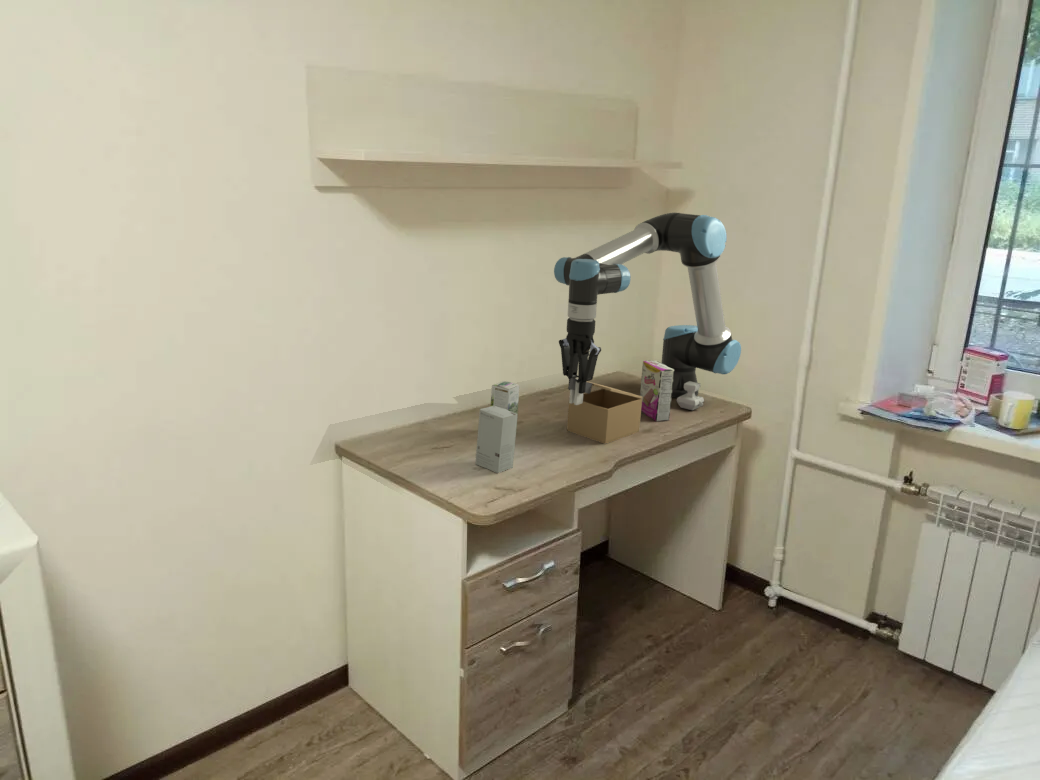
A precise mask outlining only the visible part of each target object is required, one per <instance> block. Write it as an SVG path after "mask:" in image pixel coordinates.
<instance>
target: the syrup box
mask: <svg viewBox="0 0 1040 780" xmlns="http://www.w3.org/2000/svg"><path fill="white" fill-rule="evenodd" d="M490 397H491V398H490V407H491V406H497V407H500V408H503V409H506V410H508V411H511V412H513V413H516V414H519V413H518V412H519V398H520V384H517V383H515V382H511V381H507V380H506V381H505V380H502V381H500V382H498V383H497V382H496V383H494V384H492V385H491V395H490ZM517 430H518V429H517V427H516V431H517Z"/></svg>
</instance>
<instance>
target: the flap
mask: <svg viewBox="0 0 1040 780" xmlns="http://www.w3.org/2000/svg"><path fill="white" fill-rule="evenodd" d="M577 379H578V378H576V379H573V378H571V379H570V383H569V382H568V387H567V390H569V389H571V390H575V384H576V380H577ZM592 387H595V388H599V389H601V388H602V389H606V390H609V391H613V392H617V393H621V394H625V395H629V396H633V397H637V398H641V399H642V396H640V394H639V395H638V394H635V393H632V392H629V391H624V390H621V389H618V388H614V387H610V386H607V385H603V384H599V383H595V382H592V381H586V389H585V393H588V394H590V392H591V391H592Z"/></svg>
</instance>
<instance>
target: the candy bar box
mask: <svg viewBox="0 0 1040 780" xmlns="http://www.w3.org/2000/svg"><path fill="white" fill-rule="evenodd" d="M673 377H674V369H672V368H670V367H668V366H666V365H664V364H662V362H659V361H658V360H656V359H655V360H653V359H652V360H651V359H649V360H643V361H642V369H641V380H640V388H639V389H640V390H639V391H640V393H639V396H642V407H641V414H644V415H645V416H647V417H648V418H650V419H652V420H653V421H655V422H665V421H666V422H667V421H670V415H671V414H670V413H671V407H672V406H671V405H672V398H673V397H672V387H673ZM640 399H641V398H640Z"/></svg>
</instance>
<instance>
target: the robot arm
mask: <svg viewBox="0 0 1040 780" xmlns="http://www.w3.org/2000/svg"><path fill="white" fill-rule="evenodd" d="M726 243H727V231H726V228H725V225H724V224H723V222H722V221H721V220H720V219H718V218H717V217H714V216H710V215H707V214H691V213H684V212H683V213H681V212H669V213H664V214H663V213H662V214H661V215H660V214H659V215H656V216H654V217H652V218H649V219H646V220H644V221H643V222H640V223H638V224H637V225H635V228H634V229H633V230H631V231H628V232H627V233H624V234H622V235H621V236H618V237H617V238H616V237H615V239H612V240H610V241H608V242H605V243H603V244H602V245H599V246H598V247H594V248H593V249H591V250H589V251H587V252H585V253H583V254H581V255H579V256H575V257H569V256H568V257H567V256H566V257H565V256H563V257H560V258H559V259H558V260H557V261H556V262H555V265H554V268H553V274H554V278H555V280H556V281H557V282H558V283H561V284H563V285H566V286H568V302H567V304H568V305H567V317H568V318H567V319H566V333H567V334H566V337H565V338H563V339H560V340H558V345H559V347H560V354H561V365H562V366H561V367H562V375H563V376H565V377H567V379H568V384H569V383H570V379H571V378H573V379H577V380H576V384H575V390H571V389H568V391H569V398H570V399H569V398H568V404H569V403H571V404H572V403H574V405H579V404H582V403H583V394H584V393H585V389H586V381H588V382H591V381H592V380H593V378H594V376H595V375H594V374H595V370H596V366H597V361H598V357H599V355H600V353H601V351H602V347H600V346H597V345H596V344H595V340H594V335H595V331H596V320H595V319H596V318H597V306H598V305H597V304H598V295H599V296H600V295H605V294H618V293H620V292H623V291H625V290H627V289H628V288H629V286H630V285H631V272H630V270H629V268H628V267H627V266H625V265H624V263H627V262H629V261H631V260H633V259H635V258H637V257H639V256H641V255H643V254H648V255H650V254H653V253H655V252H659V251H663V252H664V251H665V252H673V253H678V254H679V255H680V261H681V264H682V265H683V266H684V267H686V268H687V272H688V277H689V278H688V279H689V284H690V289H691V297H692V302H693V308H694V309H693V310H694V315H695V321H696V325H692V324H689V325H688V324H681V325H670V326H669V327H667V328H666V329H665V330H664V335H663V339H662V340H663V343H662V354H661V363H662V364H664V365H666V366H668V367H670V368H672V369H674V377H673V387H672V397H671V398H673V399H677V398H678V397H680V396H682V395H684V394H686V393H688V392H687V391H686V390H684V384H685V383H687V382H689V381H692V382H696V383H699V382H698V379H697V378H698V377H697V373H696V370H697V369H700V370H703V371H706V372H710V373H713V374H718V375H719V374H720V375H727V374H730V373H731V372H732V371H733V370H734V369H735V367H736V366H737V365H738V363H739V360H740V357H741V353H742V345H741V343H740V342H739V341H738V340H737V339H733V338H732V331H731V329H730V327H728V326H726V323H725V317H724V316H725V315H724V309H723V307H724V306H723V300H722V294H721V287H720V280H719V279H720V278H719V274H718V266H717V262H718V260H720V258H721V255H722V254H723V252H724V250H725V248H726ZM699 390H700V389H699ZM699 390H698V391H696V392H695V395H696V396H699V392H700V391H699Z"/></svg>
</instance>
